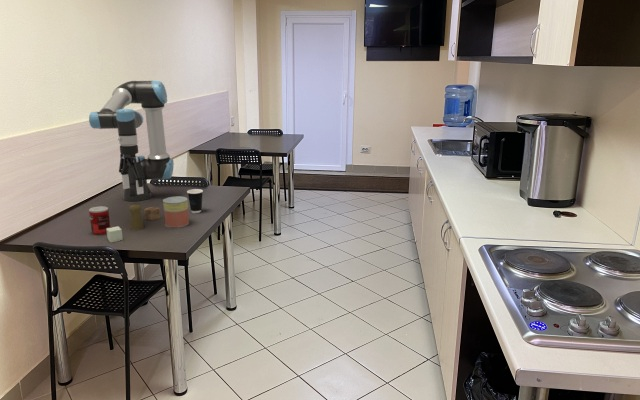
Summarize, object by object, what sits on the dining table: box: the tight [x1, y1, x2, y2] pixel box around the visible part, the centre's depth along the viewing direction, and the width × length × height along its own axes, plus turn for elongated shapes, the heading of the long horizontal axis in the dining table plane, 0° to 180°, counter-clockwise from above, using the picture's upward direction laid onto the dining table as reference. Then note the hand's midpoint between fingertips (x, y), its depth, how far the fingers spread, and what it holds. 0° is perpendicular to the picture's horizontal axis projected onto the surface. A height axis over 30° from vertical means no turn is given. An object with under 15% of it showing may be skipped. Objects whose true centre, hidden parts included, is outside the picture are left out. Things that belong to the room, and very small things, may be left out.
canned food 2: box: [162, 195, 190, 228], centre depth 226 cm, size 11×11×12 cm
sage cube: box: [106, 225, 124, 243], centre depth 206 cm, size 5×5×5 cm
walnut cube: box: [143, 206, 161, 221], centre depth 235 cm, size 5×5×5 cm
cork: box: [128, 203, 145, 231], centre depth 220 cm, size 6×6×11 cm
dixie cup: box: [186, 188, 204, 214], centre depth 244 cm, size 8×8×11 cm
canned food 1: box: [88, 205, 111, 236], centre depth 214 cm, size 8×8×11 cm
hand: (133, 191), depth 217 cm, fingers open, 13 cm apart
